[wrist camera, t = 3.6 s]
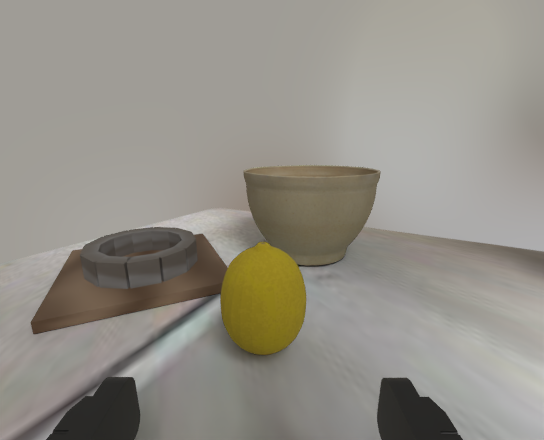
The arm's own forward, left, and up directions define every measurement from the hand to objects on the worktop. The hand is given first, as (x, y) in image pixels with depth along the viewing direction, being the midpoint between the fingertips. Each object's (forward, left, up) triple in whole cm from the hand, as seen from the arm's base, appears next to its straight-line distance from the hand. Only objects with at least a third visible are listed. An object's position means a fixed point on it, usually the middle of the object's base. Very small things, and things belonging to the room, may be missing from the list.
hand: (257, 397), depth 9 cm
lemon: (-4, -8, -6) cm, 11 cm away
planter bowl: (-16, -23, -6) cm, 29 cm away
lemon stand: (+3, -25, -6) cm, 26 cm away
